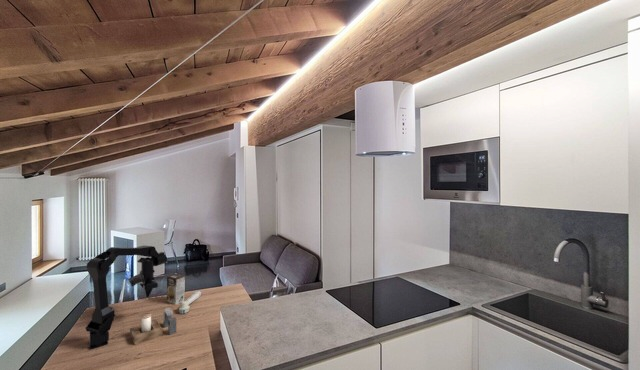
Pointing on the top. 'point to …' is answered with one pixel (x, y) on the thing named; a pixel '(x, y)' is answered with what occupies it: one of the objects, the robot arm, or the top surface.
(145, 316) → the white cylinder
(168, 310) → the lock bolt
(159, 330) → the socket block
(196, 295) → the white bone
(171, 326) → the bolt mount
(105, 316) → the robot arm
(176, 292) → the coffee box
